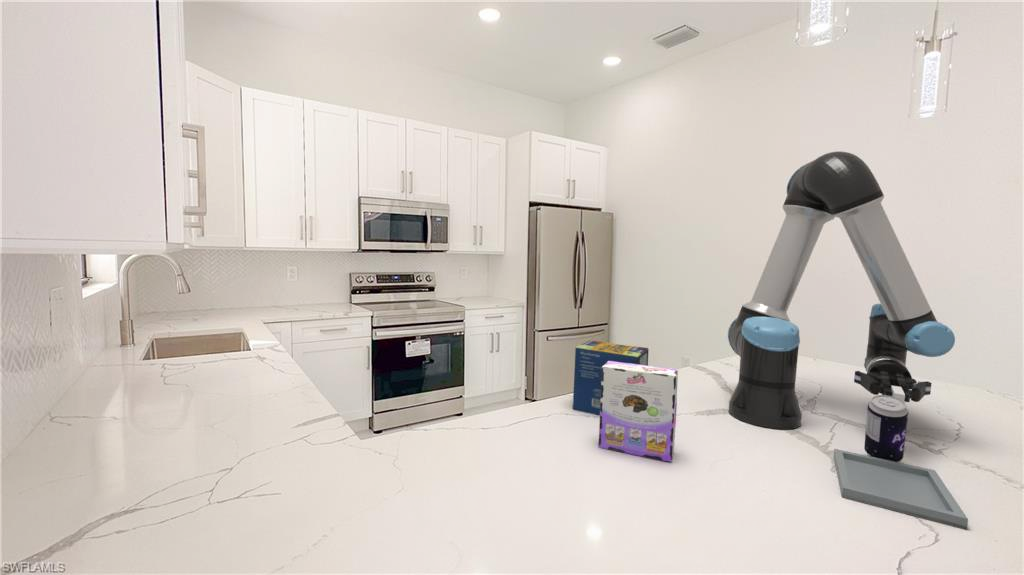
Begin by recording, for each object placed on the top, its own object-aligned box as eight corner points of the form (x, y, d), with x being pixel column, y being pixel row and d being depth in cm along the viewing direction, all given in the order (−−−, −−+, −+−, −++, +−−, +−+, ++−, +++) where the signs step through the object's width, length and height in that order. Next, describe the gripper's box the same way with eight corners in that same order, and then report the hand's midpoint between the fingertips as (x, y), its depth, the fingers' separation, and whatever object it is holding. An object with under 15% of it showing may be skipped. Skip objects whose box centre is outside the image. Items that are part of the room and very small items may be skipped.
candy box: (674, 451, 86) (679, 368, 84) (671, 464, 80) (677, 375, 79) (604, 436, 91) (607, 358, 90) (597, 447, 86) (601, 365, 85)
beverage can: (893, 471, 81) (899, 416, 77) (857, 454, 86) (862, 402, 82) (908, 456, 83) (915, 402, 79) (873, 441, 88) (878, 390, 84)
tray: (842, 497, 71) (842, 487, 71) (833, 456, 85) (834, 448, 85) (966, 529, 63) (968, 519, 63) (933, 478, 78) (934, 470, 78)
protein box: (586, 398, 116) (589, 339, 115) (646, 410, 108) (649, 347, 107) (571, 409, 107) (574, 346, 106) (634, 423, 99) (638, 356, 98)
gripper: (924, 397, 98) (945, 429, 79) (851, 385, 105) (853, 412, 87) (928, 364, 97) (949, 388, 78) (854, 354, 105) (856, 374, 86)
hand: (899, 401), depth 82 cm, fingers closed
